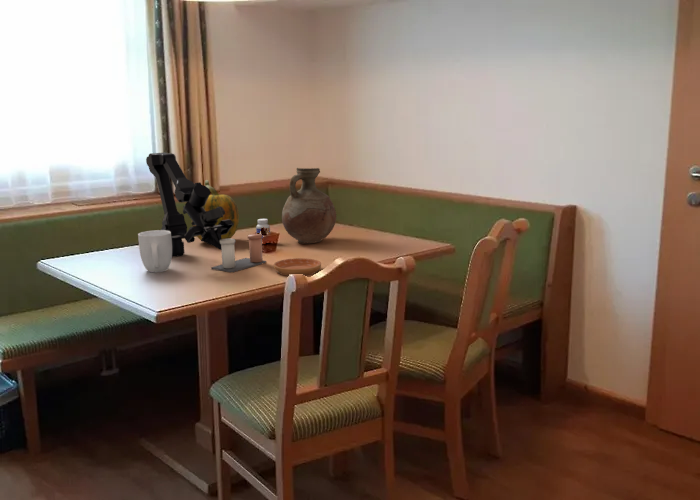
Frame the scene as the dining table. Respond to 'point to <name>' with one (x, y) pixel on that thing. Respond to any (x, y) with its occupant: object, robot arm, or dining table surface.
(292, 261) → the saucer
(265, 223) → the pill bottle
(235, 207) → the pumpkin
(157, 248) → the mug
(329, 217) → the jug
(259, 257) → the pink lidded jar
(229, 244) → the white lidded cylinder
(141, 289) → the dining table surface
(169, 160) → the robot arm
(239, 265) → the mat
